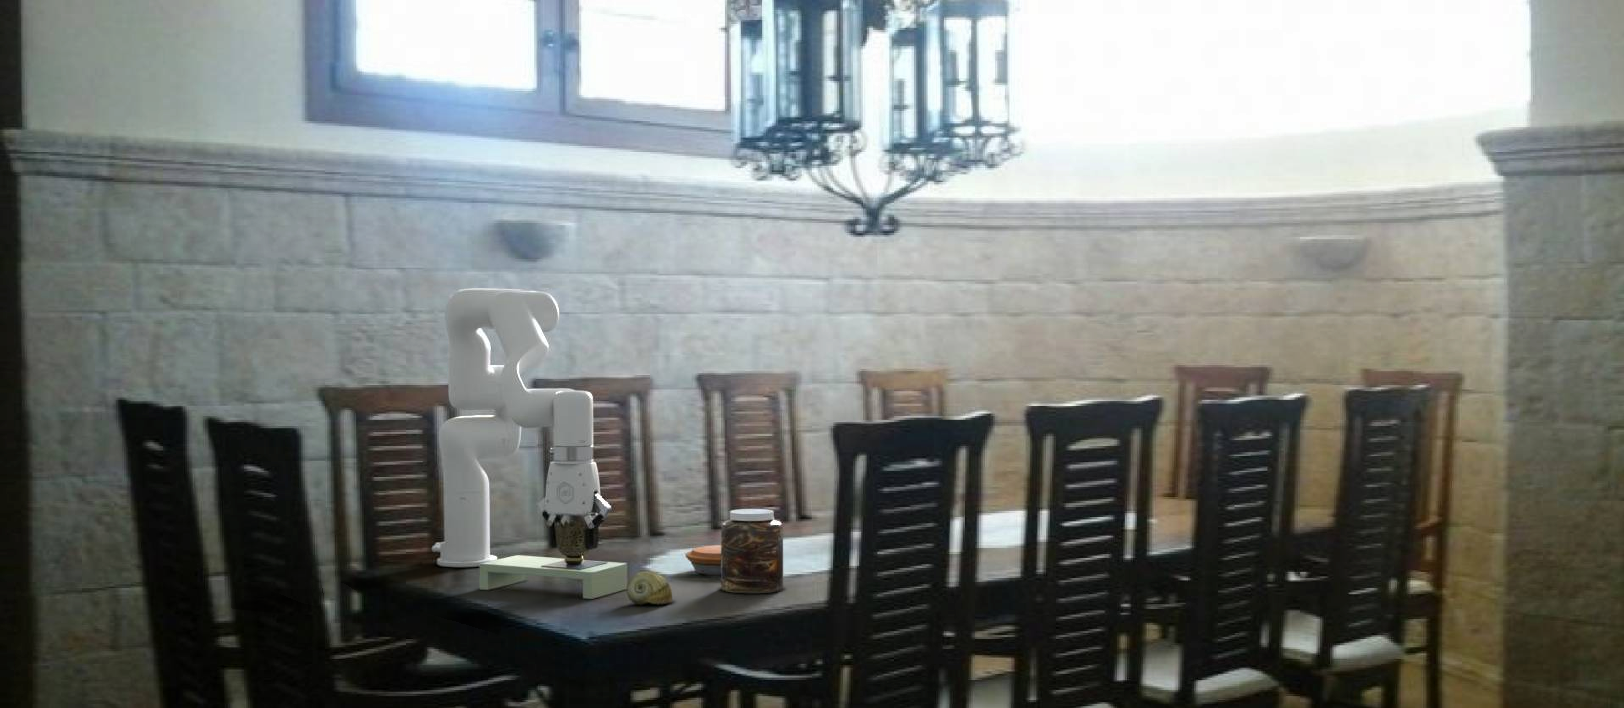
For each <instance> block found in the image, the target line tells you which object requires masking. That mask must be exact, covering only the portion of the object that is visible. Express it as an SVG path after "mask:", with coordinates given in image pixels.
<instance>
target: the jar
mask: <svg viewBox="0 0 1624 708" xmlns="http://www.w3.org/2000/svg"><path fill="white" fill-rule="evenodd" d="M783 529H784V528H783V524H782V522H781V521H779V520H777V519H775V512H774V510H771V509H763V508H741V509H739V508H738V509H732V510H730V511H729V519H728V520H725V521H723V522H722V524H721V530H720V531H721V532H720V545H721V575H720V583H721V584H720V587H721V590H722V591H723V592H727V593H733V594H750V595H756V594H770V593H777V592H780V591H782V590H783V589H784V532H783V531H784V530H783Z"/></svg>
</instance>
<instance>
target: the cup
mask: <svg viewBox="0 0 1624 708" xmlns="http://www.w3.org/2000/svg"><path fill="white" fill-rule="evenodd" d="M586 528H588V525H587V523H586V522H585V524H584V523H583V524H582V523H581V520H578V521H577V520H575V519H572V520H571V521H569V522H568V521H567V520H564V522H562V520H561V521H560V522H559V524H558V522H557V523H555V533H556V541H557V546H556V547H557V550H558V551H559V552H560V554H561V555H563V556H565V557H564V559H565V563H566V564H570V565H577V564H581V563H583V561H584V560H585V558H584V555H586V554H588V552H590V550H589V549H586V535H585V530H586Z"/></svg>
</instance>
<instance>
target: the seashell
mask: <svg viewBox="0 0 1624 708" xmlns="http://www.w3.org/2000/svg"><path fill="white" fill-rule="evenodd" d="M672 591H673V590H672V588H671V585H670V584H669V582H668V581H667V579H665V577H664V576H662V575H660V574H659V573H657V572H655V571H651V570H643V571H639V572H638V573H636V574H634V575H633V576H632V577H630V579H629V580H628V582H627V589H626V594H627V598H628V599H629V600H630V601H631V602H632V603H633V604H634V605H639V606H641V605H647V604H651V605H666V604H668V605H669V604H672V603H673V592H672Z"/></svg>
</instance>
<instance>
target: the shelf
mask: <svg viewBox="0 0 1624 708" xmlns="http://www.w3.org/2000/svg"><path fill="white" fill-rule="evenodd" d="M478 567H479V573H478V574H479V575H478V577H479V590H483V591H484V590H485V591H489V590H493V589H497V588H502V587H505V586H509V585H513V584H517V583H522V582H526V576H536V577H548V578H557V579H558V578H560V579H571V580H582V599H587V600H593V599H597V598H600V597H604V596H607V595H611V594H614V593H618V592H622V591H625V590H627V585H628V563H627V562H615V561H602V560H600V561H599V560H586V559H584V561H583V563H581V564H577V565H570V564H566V563H565V558H561V557H559V558H558V557H547V556H533V555H522V554H521V555H520V554H519V555H518V554H516V555H511V556H508V557H503V558H497V560H493V561H489V562H484V563H480V564H479V566H478Z"/></svg>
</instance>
